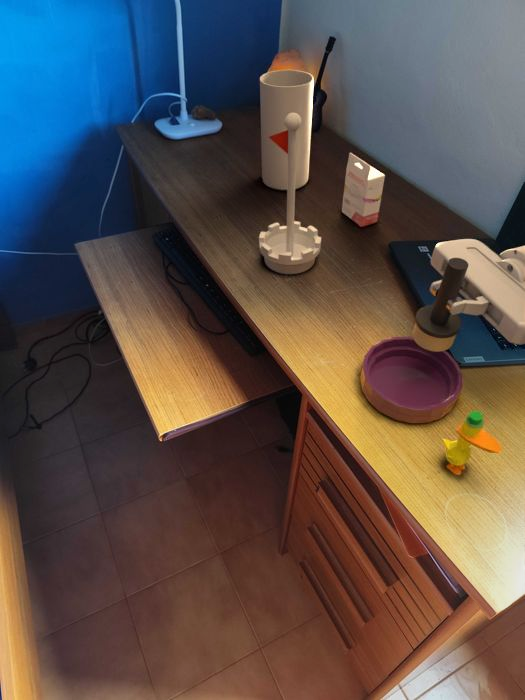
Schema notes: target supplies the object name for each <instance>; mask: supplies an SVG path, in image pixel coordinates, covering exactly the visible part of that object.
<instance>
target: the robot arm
mask: <svg viewBox="0 0 525 700" xmlns="http://www.w3.org/2000/svg"><path fill="white" fill-rule="evenodd" d="M451 258H461V259H464V260H465V261H467V262H468V265H469V266H468V269H467V271H466V274H465V277H464V280H463V282H462V285H461V288H460V290H459V293H458V294H460V295H461V296H462V297H463V298H464V299H463V298H461V297H460V296H457V297H456V298H455V299H453V298H452V299H450V300H448V302H447V305H446V309H447V310H448V311H449V312H450V313H451V314H452V315H455V314H458V315H459V314H465V315H471V316H481V315H482V317H484V319H485V320H486V321H487V322H488V323H490V325H491V326H492V327H493V328H494V329H495V330H496V331H497V332H498V333H499V334H500V335H501V336H502V337H504V339H505V340H506V341H508V343H511V344H515V345H524V344H525V245H522V246H518V247H514V248H510V249H506V250H504V251H502V252H500V254H498V253H496V252H495V251H493V249H491V248H490V247H489V246H488V245H487V244H485V243H483V242H482V241H480V240H477V239H473V238H463V239H453V240H448V241H447V240H446V241H441V242H438V243H437V244H436V245H435V247H434V249H433V251H432V254H431V257H430V265H431V266H432V267H433V269H435V270H436V271H437V272H438V273H439V274H440V276H442V277H443V275H444V272H445V269H446V266H447V263H448V260H449V259H451ZM441 281H442V279H440V280H436V281H433V282H432V283H431V284H430V287H429V292H430V294H431V295H433V296H434V298H436V297H437V294H438V291H439V288H440V285H441Z"/></svg>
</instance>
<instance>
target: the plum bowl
mask: <svg viewBox="0 0 525 700" xmlns="http://www.w3.org/2000/svg"><path fill="white" fill-rule="evenodd" d="M463 381H464V379H463V373H462V370H461V368H460V366H459V363H458V362H457V361H456V360H455V359H454V358H453V356H452V355H451V354H450V353H449V352H448V351H447V350H444V351H439V352H436V351H430V350H426V349H424V348H422V347H421V346H419V345H418V344H417V343H416V342H415V341H414V339H413V336H393V337H389V338H386V339H382V340H380V341H378V342H377V343H375V344H374V345H372V346H371V347H370V348H369V349H368V351H367V352H366V353H365V355H364V358H363V363H362V367H361V373H360V377H359V383H360V387H361V391H362V393H363V394H364V396H365V398H366V399H367V401H368V403H369V404H370V405H372V406H373V407H374V408H375V409H376V410H377V411H379V412H380V413H382V414H384V415H386V416H387V417H390V418H391V419H394V420H395V421H400V422H405V423H409V424H427V423H431V422H434V421H437V420H440V419H442V418H444V417H445V416H446V415H447V414H448V413H450V412H451V411H452V410H453V408H454V406H455V405H456V404H455V403H456V401H457V399H458V398H459V395H460V393H461V391H462V390H463Z"/></svg>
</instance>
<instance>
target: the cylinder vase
mask: <svg viewBox="0 0 525 700" xmlns="http://www.w3.org/2000/svg"><path fill="white" fill-rule="evenodd" d="M314 79H315V78H314V76H313V74H311V73H310V72H307V71H303V70H297V69H277V70H272V71H268V72H266V73H263V74H262V75H261V76H260V77H259V94H260V95H259V103H260V104H259V105H260V141H261V142H260V145H261V146H260V148H261V151H260V152H261V179H263V180H262V182H263V183H264V185H265V186H266V187H268V188H270V189H273V190H277V191H287V179H288V154H287V153H286V152H285V151H284V150H282V149H281V148H280V147H279V146H278V145H277V144H276V143H274V142H273V141H272V140H271V139H270V138H269V137H270V136H272V135H275V134H278V133H281V132H283V131H286V130H288V129H287V128H286V127H285V123H284V122H285V118H286V116H287V115H288V114H290V113H297V114H298V115H299V116H300V118H301V126H300V128H299V129H298V130H297V146H296V178H295V190H297V189H300V188H302V187H304V186H305V185H306V184H307V182H308V180H309V176H310V175H309V173H310V156H311V155H310V154H311V139H312V137H311V136H312V119H313V100H314V98H313V97H314V81H315V80H314Z"/></svg>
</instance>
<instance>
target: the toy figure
mask: <svg viewBox="0 0 525 700" xmlns="http://www.w3.org/2000/svg"><path fill="white" fill-rule="evenodd" d="M484 425H485V419H484V415H483V414H482V412H480V411H478V410H472V411H470V412H469V414H468V415H467V416H466V417H465V420H464V422H463V423H461V424H460V425H459V426H458V428H457V429H456V430H455V432H456V433H457V434H458V437H457V439H455V440H453V441H452V440H449V439H446V438H441V439H442V442H443V444H444V447H445V457H446V461H448V464H447V465H446V468H447V469H448V470H449V471H450V472H451V473H452V474H454V475H457V476H460V475H461V474H462V471H464V470H465V469H466V466H465V465H464V464H467V463H468V462H469V460H470V459H471V457H472V448H471V447H470V446H474V447H476V448H478V449H480V450H481V451H484V452H487V453H491V454H492V453H493V454H496V453H497V454H499V453H501V451H502V449H503V447H502V446H501V445H500V443H499V442H498V441H497V439H495V438H494V437H493V436H492V435H491V434H489V433H488V432H486V431H485V430H484V429H483V426H484Z"/></svg>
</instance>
